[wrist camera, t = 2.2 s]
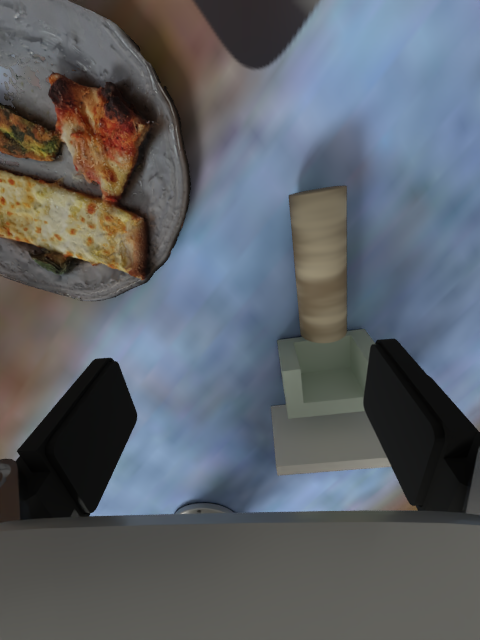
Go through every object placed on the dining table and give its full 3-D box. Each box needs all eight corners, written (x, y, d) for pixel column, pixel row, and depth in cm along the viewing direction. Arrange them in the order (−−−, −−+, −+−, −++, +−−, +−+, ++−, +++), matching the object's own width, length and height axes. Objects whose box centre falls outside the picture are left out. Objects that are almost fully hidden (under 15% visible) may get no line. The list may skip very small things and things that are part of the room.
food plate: (225, 76, 22) (220, 60, 19) (163, 318, 33) (153, 332, 30) (-106, -70, 20) (-175, -116, 17) (-60, 242, 30) (-97, 249, 27)
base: (376, 403, 37) (410, 465, 29) (272, 414, 39) (277, 475, 31) (376, 394, 37) (412, 455, 29) (270, 406, 38) (276, 466, 30)
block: (362, 373, 35) (383, 409, 30) (282, 382, 36) (288, 418, 31) (364, 328, 32) (386, 358, 27) (276, 340, 33) (282, 371, 28)
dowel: (339, 318, 32) (353, 339, 28) (297, 323, 33) (304, 345, 28) (337, 185, 26) (354, 186, 22) (285, 194, 26) (292, 197, 22)
